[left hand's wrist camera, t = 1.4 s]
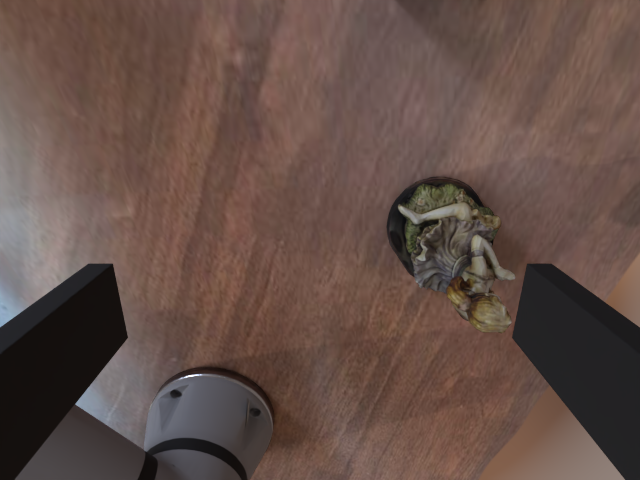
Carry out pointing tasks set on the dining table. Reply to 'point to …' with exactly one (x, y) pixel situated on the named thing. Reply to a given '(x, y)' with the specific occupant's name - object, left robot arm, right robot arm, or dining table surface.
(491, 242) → the figurine
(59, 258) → the dining table surface
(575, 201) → the dining table surface
